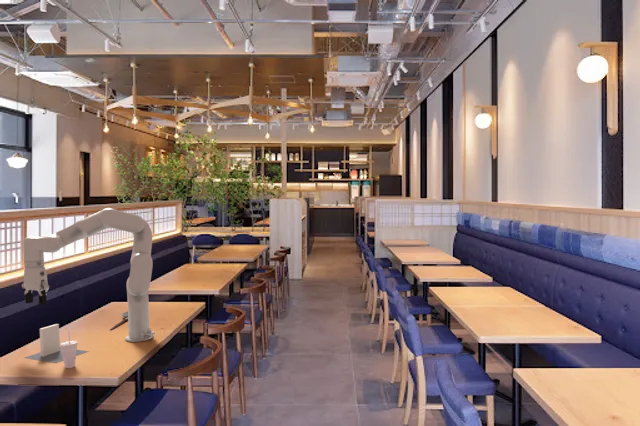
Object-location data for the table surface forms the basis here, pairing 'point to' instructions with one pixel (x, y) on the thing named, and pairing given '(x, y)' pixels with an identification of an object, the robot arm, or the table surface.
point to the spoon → (121, 321)
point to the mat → (53, 356)
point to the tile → (49, 340)
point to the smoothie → (69, 352)
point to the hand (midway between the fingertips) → (36, 303)
